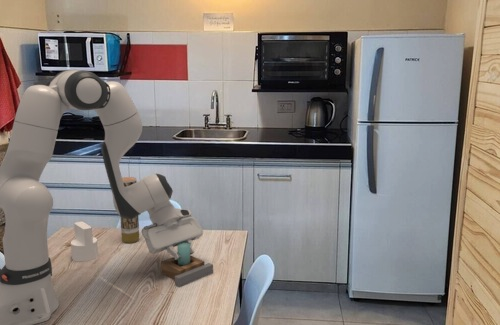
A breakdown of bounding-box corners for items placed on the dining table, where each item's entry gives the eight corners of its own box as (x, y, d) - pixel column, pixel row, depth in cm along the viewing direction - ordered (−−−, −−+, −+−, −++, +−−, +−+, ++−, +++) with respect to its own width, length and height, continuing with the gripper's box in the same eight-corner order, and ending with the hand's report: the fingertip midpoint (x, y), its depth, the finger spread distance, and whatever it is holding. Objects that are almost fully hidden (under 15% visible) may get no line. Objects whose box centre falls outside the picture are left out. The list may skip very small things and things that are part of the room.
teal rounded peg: (183, 271, 150) (182, 248, 148) (175, 268, 153) (174, 245, 151) (192, 268, 153) (192, 245, 151) (185, 264, 156) (184, 241, 154)
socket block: (180, 282, 147) (179, 270, 146) (161, 273, 154) (160, 261, 153) (204, 272, 154) (204, 261, 153) (185, 263, 161) (185, 253, 160)
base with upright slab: (68, 256, 170) (65, 224, 167) (92, 249, 176) (89, 219, 173) (77, 264, 163) (75, 231, 161) (102, 257, 169) (100, 225, 167)
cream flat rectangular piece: (179, 290, 144) (178, 278, 143) (142, 270, 158) (142, 259, 157) (213, 275, 154) (213, 264, 153) (176, 258, 168) (175, 248, 167)
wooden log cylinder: (134, 244, 181) (131, 181, 176) (118, 243, 182) (114, 180, 177) (142, 238, 187) (139, 177, 182) (126, 236, 189) (123, 176, 183)
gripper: (142, 223, 147) (162, 261, 142) (193, 208, 161) (213, 243, 156) (135, 233, 151) (154, 270, 146) (186, 218, 165) (204, 251, 160)
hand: (185, 256), depth 151 cm, fingers closed on teal rounded peg, 4 cm apart
